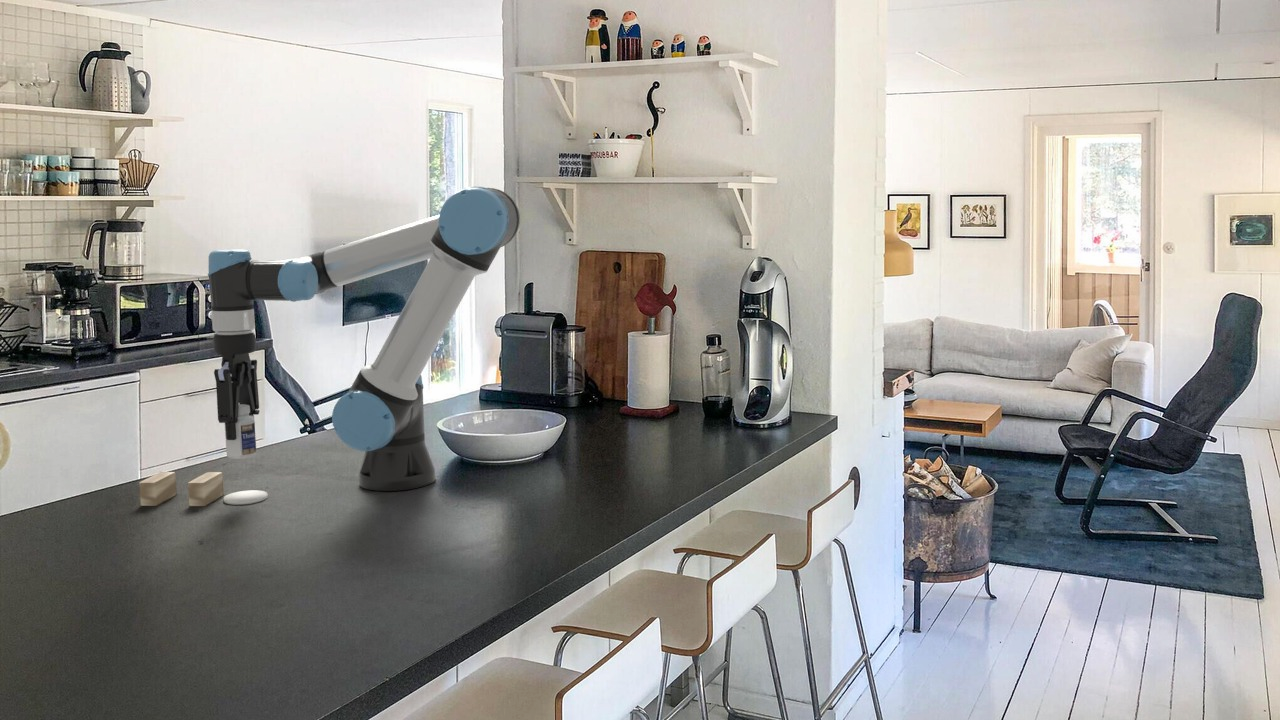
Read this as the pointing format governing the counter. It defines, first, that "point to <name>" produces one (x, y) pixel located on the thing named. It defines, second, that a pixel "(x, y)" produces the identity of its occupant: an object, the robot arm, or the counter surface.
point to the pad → (245, 497)
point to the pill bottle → (246, 432)
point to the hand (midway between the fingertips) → (241, 451)
